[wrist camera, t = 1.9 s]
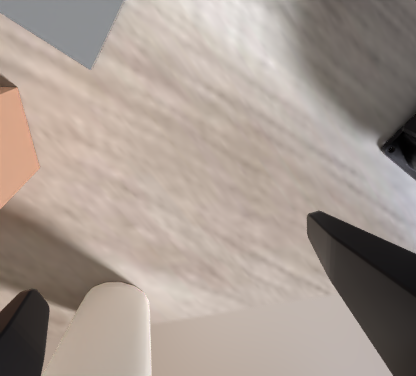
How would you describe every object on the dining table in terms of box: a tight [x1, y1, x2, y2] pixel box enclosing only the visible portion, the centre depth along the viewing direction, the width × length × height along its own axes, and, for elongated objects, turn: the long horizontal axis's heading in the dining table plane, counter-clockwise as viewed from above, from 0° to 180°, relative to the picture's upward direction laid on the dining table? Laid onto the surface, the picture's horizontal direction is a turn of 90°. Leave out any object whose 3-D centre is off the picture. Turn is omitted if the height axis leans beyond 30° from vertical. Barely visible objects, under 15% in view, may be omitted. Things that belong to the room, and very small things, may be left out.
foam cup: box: [42, 282, 152, 376], centre depth 23 cm, size 10×9×13 cm
